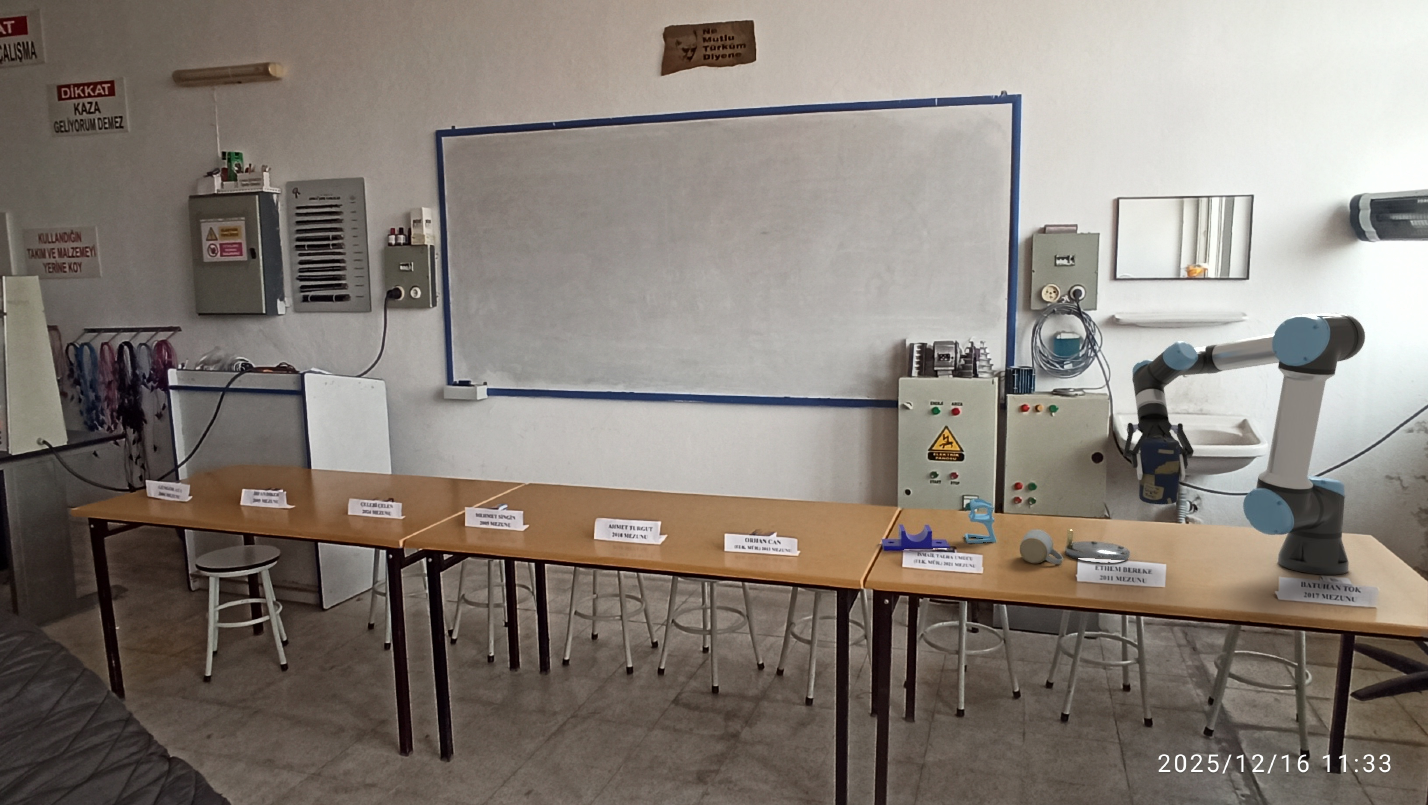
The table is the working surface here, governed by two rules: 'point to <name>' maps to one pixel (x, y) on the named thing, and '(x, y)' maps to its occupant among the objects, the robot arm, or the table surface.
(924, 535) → the mounting bracket
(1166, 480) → the canister
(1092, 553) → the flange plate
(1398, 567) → the table surface
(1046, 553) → the ceramic mug
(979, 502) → the light blue stand
